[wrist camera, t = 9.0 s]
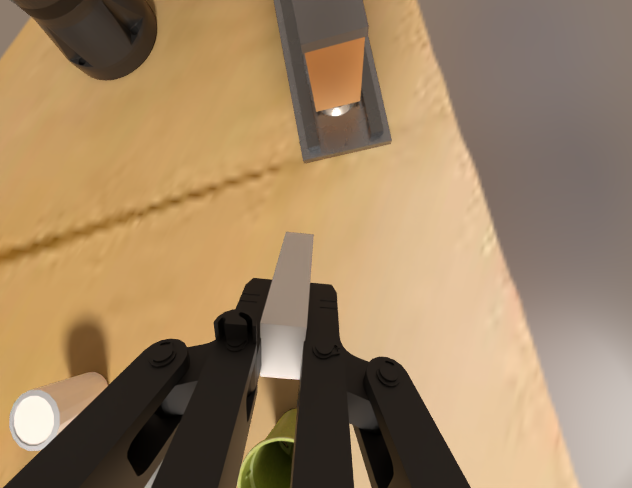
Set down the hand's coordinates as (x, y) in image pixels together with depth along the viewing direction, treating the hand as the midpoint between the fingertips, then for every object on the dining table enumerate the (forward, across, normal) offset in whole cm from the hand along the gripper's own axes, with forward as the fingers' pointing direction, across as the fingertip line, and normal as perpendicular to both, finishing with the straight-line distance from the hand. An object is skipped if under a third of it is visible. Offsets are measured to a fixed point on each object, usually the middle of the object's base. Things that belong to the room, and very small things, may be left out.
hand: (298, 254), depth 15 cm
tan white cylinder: (+9, -28, -32) cm, 44 cm away
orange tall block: (+29, +2, +9) cm, 30 cm away
